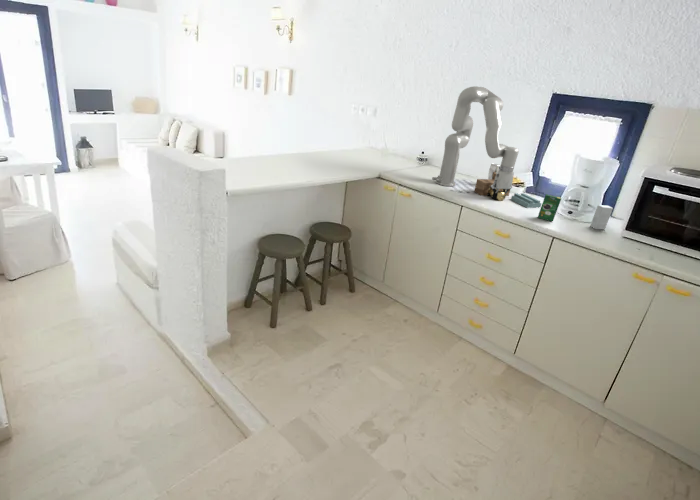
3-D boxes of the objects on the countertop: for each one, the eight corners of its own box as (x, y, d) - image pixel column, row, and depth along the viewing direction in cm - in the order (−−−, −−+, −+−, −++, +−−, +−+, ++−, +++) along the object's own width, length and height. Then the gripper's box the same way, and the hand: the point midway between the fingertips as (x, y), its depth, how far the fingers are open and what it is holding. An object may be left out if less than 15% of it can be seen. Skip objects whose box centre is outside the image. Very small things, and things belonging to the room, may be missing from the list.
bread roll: (504, 200, 243) (506, 192, 241) (497, 201, 242) (499, 193, 239) (487, 192, 257) (489, 184, 255) (481, 192, 255) (483, 184, 253)
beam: (481, 195, 248) (485, 183, 244) (474, 191, 254) (477, 179, 251) (508, 195, 255) (512, 183, 251) (500, 191, 261) (503, 179, 258)
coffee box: (553, 220, 219) (561, 197, 213) (553, 222, 217) (561, 198, 211) (537, 216, 222) (545, 193, 217) (537, 218, 220) (544, 194, 214)
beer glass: (496, 189, 265) (502, 166, 259) (485, 188, 266) (491, 165, 260) (495, 187, 271) (501, 164, 265) (484, 185, 272) (490, 163, 266)
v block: (526, 207, 236) (528, 201, 234) (510, 199, 247) (512, 193, 246) (540, 207, 239) (542, 201, 237) (523, 199, 251) (525, 193, 249)
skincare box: (599, 226, 219) (608, 205, 214) (604, 229, 215) (613, 208, 210) (589, 225, 218) (597, 204, 213) (594, 229, 214) (603, 207, 209)
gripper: (498, 170, 231) (490, 201, 239) (522, 171, 237) (513, 201, 245) (490, 166, 237) (482, 196, 245) (513, 167, 243) (505, 196, 251)
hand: (498, 198), depth 245 cm, fingers closed on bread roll, 5 cm apart
